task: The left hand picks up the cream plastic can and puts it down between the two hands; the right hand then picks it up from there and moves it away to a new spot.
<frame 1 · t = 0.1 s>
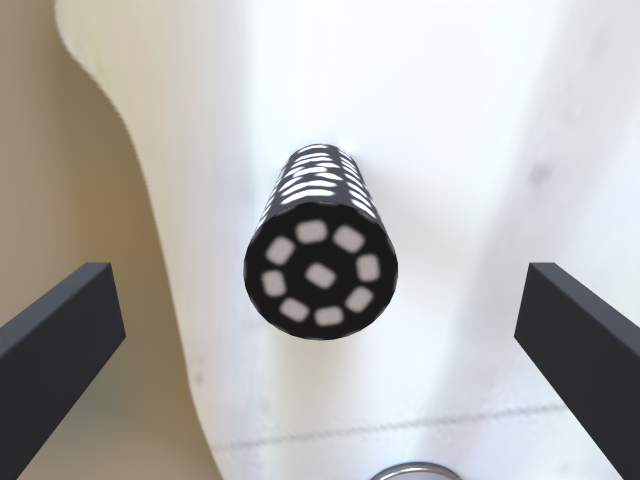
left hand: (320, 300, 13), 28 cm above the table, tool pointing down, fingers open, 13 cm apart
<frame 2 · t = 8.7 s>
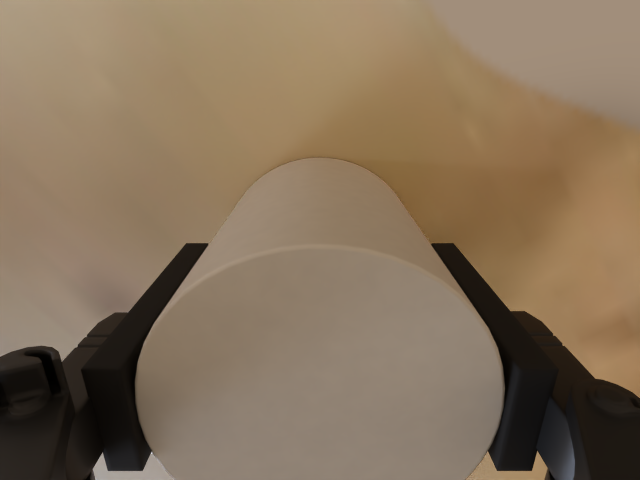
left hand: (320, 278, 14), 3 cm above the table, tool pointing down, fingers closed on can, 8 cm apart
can: (319, 249, 17), on the table, touching left hand
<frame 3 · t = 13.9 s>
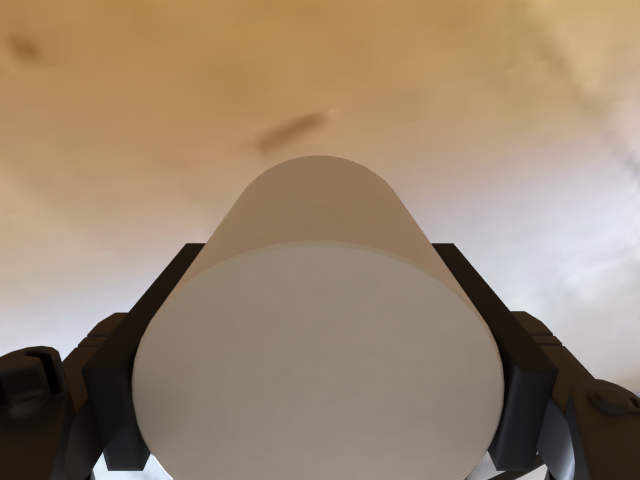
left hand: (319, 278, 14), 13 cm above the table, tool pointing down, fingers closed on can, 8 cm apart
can: (318, 248, 17), point 11 cm above the table, touching left hand
when the left hand's fingers open (4 cm above the table, at t = 18.9 s): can drops 1 cm, on the table.
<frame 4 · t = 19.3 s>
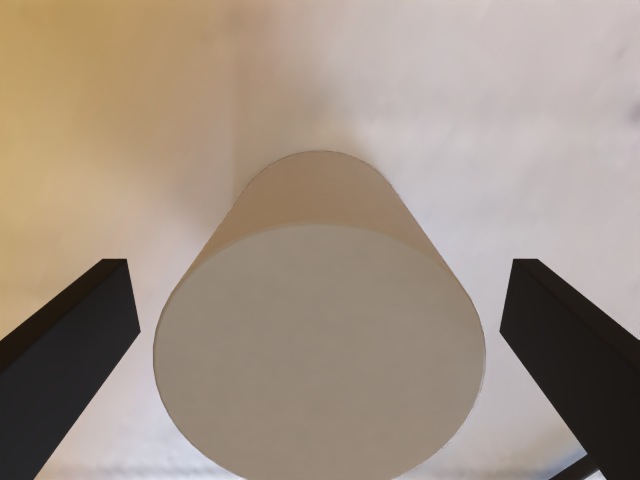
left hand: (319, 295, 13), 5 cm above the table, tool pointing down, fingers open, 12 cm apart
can: (319, 238, 18), on the table
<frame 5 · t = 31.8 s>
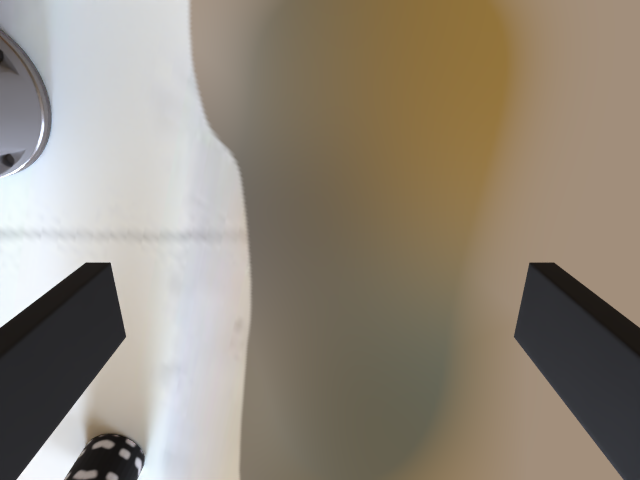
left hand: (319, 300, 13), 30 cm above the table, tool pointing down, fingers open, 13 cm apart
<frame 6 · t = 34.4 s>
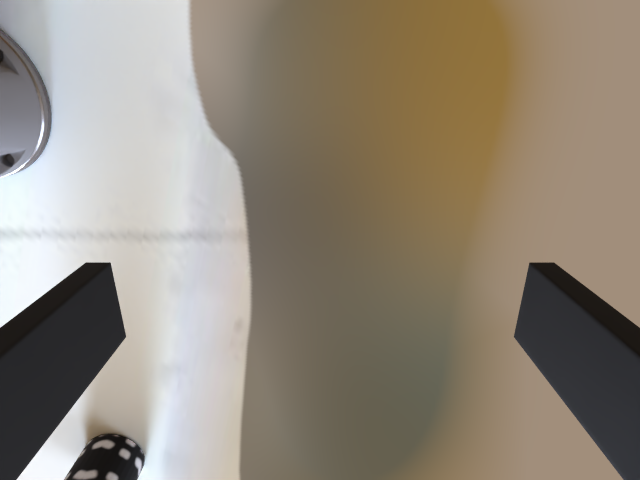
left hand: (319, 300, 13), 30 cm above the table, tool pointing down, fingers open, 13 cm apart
when the right hand's fingers open (4 cm above the table, at t = 37.1 s): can stays where it is, on the table.
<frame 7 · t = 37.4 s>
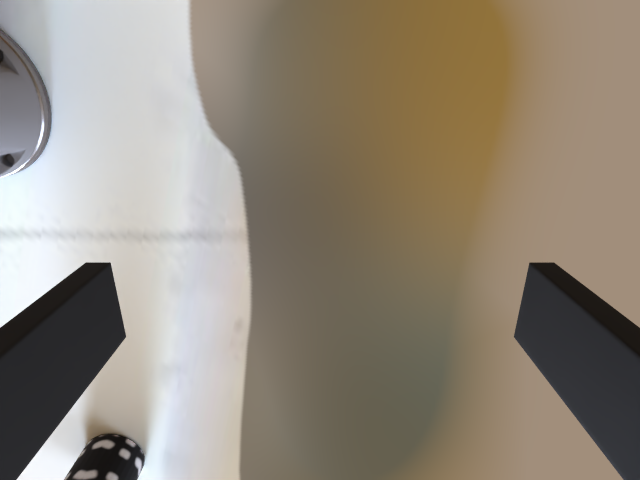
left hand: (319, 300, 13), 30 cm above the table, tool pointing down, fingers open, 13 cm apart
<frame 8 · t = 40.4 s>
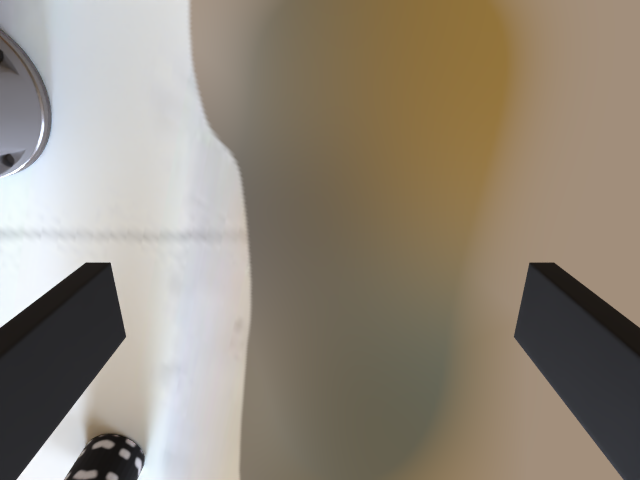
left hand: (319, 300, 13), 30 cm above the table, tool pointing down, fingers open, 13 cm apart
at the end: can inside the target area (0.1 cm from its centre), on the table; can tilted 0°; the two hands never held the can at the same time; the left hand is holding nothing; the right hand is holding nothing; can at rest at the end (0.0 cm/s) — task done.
